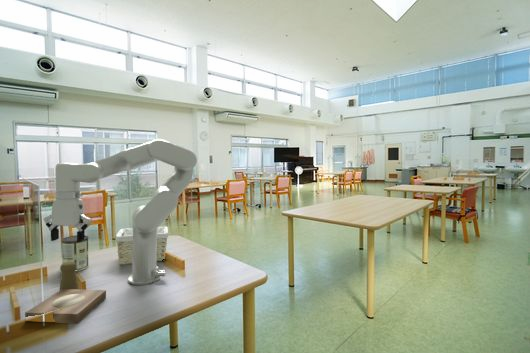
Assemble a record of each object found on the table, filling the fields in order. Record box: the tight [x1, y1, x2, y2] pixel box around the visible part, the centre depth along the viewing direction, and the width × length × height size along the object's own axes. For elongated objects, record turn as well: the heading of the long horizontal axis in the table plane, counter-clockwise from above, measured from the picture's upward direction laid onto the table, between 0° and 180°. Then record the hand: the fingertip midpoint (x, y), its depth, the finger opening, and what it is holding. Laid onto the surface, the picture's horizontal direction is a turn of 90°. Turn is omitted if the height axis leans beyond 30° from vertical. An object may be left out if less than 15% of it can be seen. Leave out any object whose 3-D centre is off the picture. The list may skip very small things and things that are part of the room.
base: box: [24, 288, 107, 324], centre depth 95 cm, size 16×16×3 cm
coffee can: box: [61, 234, 89, 272], centre depth 129 cm, size 10×10×14 cm
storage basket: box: [115, 225, 169, 265], centre depth 144 cm, size 24×16×15 cm
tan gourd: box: [58, 262, 79, 291], centre depth 107 cm, size 6×6×11 cm
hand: (67, 240), depth 106 cm, fingers open, 9 cm apart
